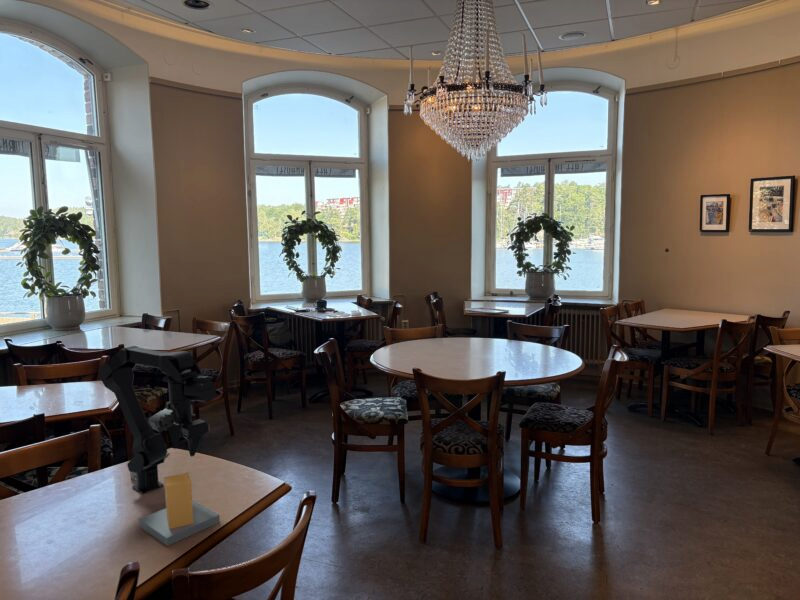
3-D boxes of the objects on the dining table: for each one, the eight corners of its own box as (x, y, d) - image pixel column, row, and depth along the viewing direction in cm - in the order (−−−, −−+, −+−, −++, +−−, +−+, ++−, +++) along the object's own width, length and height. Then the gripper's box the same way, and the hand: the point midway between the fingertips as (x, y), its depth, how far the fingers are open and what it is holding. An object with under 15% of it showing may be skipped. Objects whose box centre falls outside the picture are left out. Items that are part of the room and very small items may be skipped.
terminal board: (139, 526, 138) (138, 507, 138) (190, 505, 149) (189, 487, 149) (167, 545, 130) (166, 526, 129) (219, 522, 140) (218, 503, 140)
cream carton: (166, 518, 138) (164, 477, 137) (190, 513, 141) (187, 472, 140) (169, 529, 133) (166, 486, 132) (193, 523, 136) (191, 481, 135)
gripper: (135, 398, 151) (138, 452, 153) (169, 411, 139) (173, 470, 141) (173, 389, 159) (176, 441, 161) (209, 401, 148) (212, 456, 149)
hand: (183, 452), depth 153 cm, fingers open, 9 cm apart
